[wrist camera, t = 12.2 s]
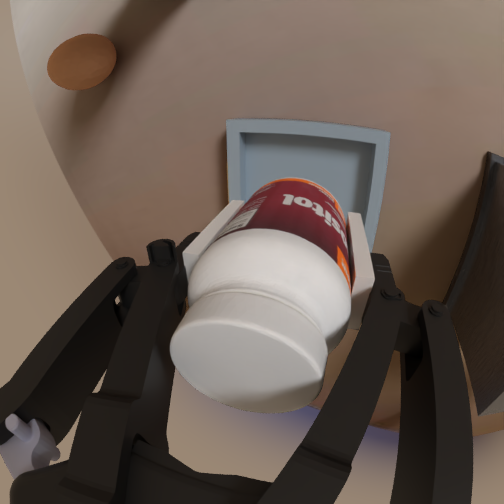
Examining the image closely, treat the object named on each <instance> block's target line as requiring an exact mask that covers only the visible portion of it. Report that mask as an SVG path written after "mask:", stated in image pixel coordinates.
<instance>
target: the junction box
mask: <svg viewBox="0 0 504 504" xmlns="http://www.w3.org/2000/svg"><path fill="white" fill-rule="evenodd" d="M442 304H444V305H445V306H446V307H447V309H448V310H449V312H450V315H451V319H452V322H453V324H454V327H455V330H456V333H457V336H458V339H459V342H460V345H461V348H462V351H463V355H464V358H465V361H466V365H467V369H468V372H469V376H470V380H471V384H472V388H473V393H474V397H475V402H476V407H477V413H478V416H484V415H489V414H494V413H499V412H503V411H504V158H503V157H501V156H498V155H496V154H493V153H491V152H488V154H487V160H486V167H485V172H484V178H483V183H482V188H481V192H480V197H479V201H478V205H477V209H476V213H475V216H474V220H473V223H472V227H471V230H470V233H469V237H468V240H467V243H466V246H465V249H464V251H463V254H462V257H461V260H460V262H459V265H458V268H457V270H456V273H455V275H454V278H453V280H452V283H451V285H450V287H449V290H448V292H447V294H446V296H445V299H444V301H443V303H442Z"/></svg>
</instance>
